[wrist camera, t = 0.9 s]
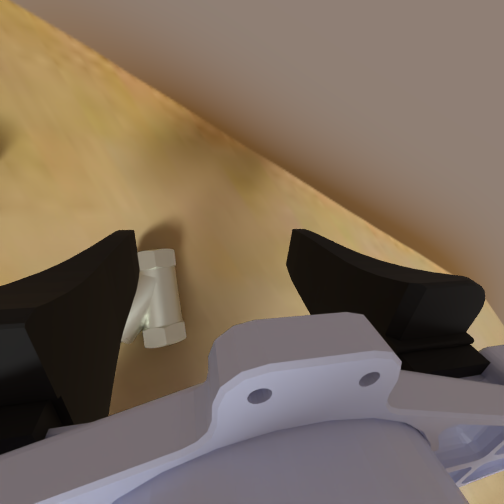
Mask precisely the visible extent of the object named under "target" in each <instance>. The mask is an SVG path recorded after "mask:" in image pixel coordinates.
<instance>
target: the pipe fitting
mask: <svg viewBox="0 0 504 504" xmlns="http://www.w3.org/2000/svg"><path fill="white" fill-rule="evenodd" d="M137 253H138V260H139V267H140V273H139V280H138V286H137V291H136V294H135V297H134V300H133V303H132V306H131V310H130V313H129V316H128V319H127V322H126V325H125V328H124V331H123V335H122V339H121V342H124V343H127V344H131V343H132V342H133V340H134V339H135V338H136V336H137V335H138V334H139V332H140V331H141V330H142V329H143V338H144V345H145V348H158V347H164V346H168V345H172V344H175V343H178V342H180V341H182V340H184V339H185V338H186V330H185V323H184V320H183V319H182V313H181V306H180V299H179V292H178V285H177V278H176V271H175V267H176V260H175V253H174V249H154V250H147V251H141V252H137Z"/></svg>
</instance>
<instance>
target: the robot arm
mask: <svg viewBox="0 0 504 504" xmlns="http://www.w3.org/2000/svg"><path fill="white" fill-rule="evenodd" d="M286 266H287V269H288V272H289V275H290V277H291V280H292V282H293V284H294V286H295V288H296V289H297V291H298V293H299V295H300V297H301V298H302V300H303V302H304V304H305V306H306V307H307V309H308V311H309V313H310V315H306V316H294V317H282V318H271V319H259V320H252V321H249V322H245V323H242V324H238V325H234V326H232V327H231V328H230V329H228V330H227V331H226V332H225V333H223V334H222V335H221V336H219V337H218V338H217V339H216V340H215V341H214V343H213V346H212V348H211V351H210V353H209V356H208V375H207V379H206V381H205V382H203V383H200V384H197V385H195V386H192V387H189V388H186V389H183V390H181V391H178V392H175V393H172V394H169V395H167V396H164V397H161V398H158V399H155V400H153V401H150V402H147V403H144V404H141V405H139V406H136V407H133V408H130V409H127V410H125V411H122V412H119V413H116V414H113V415H111V416H108V414H109V408H110V401H111V394H112V388H113V382H114V376H115V370H116V365H117V359H118V354H119V349H120V344H121V339H122V335H123V331H124V328H125V325H126V322H127V319H128V316H129V313H130V310H131V306H132V303H133V300H134V297H135V294H136V291H137V286H138V280H139V273H140V267H139V260H138V253H137V247H136V240H135V233H134V230H118V231H116V232H114V233H112V234H111V235H109V236H107V237H106V238H104V239H103V240H101V241H99V242H98V243H96V244H95V245H93V246H91V247H90V248H88V249H86V250H84V251H83V252H81V253H79V254H77V255H76V256H74V257H72V258H70V259H68V260H66V261H64V262H62V263H60V264H58V265H56V266H54V267H51V268H49V269H47V270H44V271H42V272H40V273H37V274H34V275H31V276H29V277H26V278H23V279H20V280H17V281H15V282H12V283H9V284H6V285H2V286H0V504H469V503H468V501H467V500H466V498H465V497H464V495H463V494H462V492H461V491H460V489H459V487H461V486H464V485H466V484H469V483H471V482H474V481H477V480H479V479H482V478H484V477H487V476H490V475H492V474H495V473H498V472H500V471H503V470H504V345H498V346H491V347H486V348H483V349H482V350H480V351H479V352H478V351H477V350H476V349H475V348H474V347H472V346H471V345H470V344H472V343H473V342H474V339H473V338H472V337H471V336H470V335H469V334H468V333H467V332H466V331H467V330H468V328H469V327H470V325H471V324H472V323H473V321H474V320H475V318H476V317H477V315H478V314H479V312H480V311H481V309H482V307H483V305H484V301H485V291H484V289H483V288H482V286H480V285H479V284H477V283H475V282H474V281H473V280H471V279H469V278H467V277H464V276H458V275H450V274H442V273H434V272H428V271H423V270H417V269H412V268H408V267H403V266H399V265H395V264H391V263H388V262H384V261H381V260H377V259H375V258H372V257H369V256H366V255H363V254H360V253H358V252H355V251H353V250H351V249H348V248H346V247H344V246H341V245H339V244H337V243H335V242H333V241H331V240H329V239H327V238H325V237H323V236H320V235H318V234H316V233H314V232H312V231H309V230H306V229H293V230H292V235H291V241H290V246H289V252H288V257H287V262H286Z"/></svg>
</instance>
